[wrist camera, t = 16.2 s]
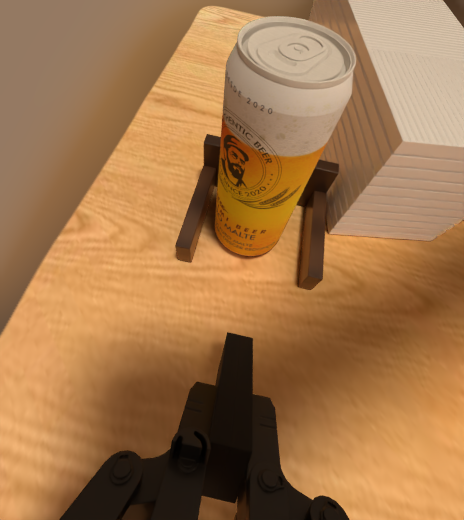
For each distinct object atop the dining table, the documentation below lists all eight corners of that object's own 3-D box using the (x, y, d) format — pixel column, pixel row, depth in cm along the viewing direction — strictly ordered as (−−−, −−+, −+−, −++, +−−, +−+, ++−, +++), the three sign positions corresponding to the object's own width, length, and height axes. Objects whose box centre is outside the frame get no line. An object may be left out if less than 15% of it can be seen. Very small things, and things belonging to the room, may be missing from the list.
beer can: (201, 228, 24) (198, 34, 11) (245, 195, 27) (288, 0, 13) (247, 273, 23) (310, 108, 10) (290, 233, 25) (390, 56, 12)
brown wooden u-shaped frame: (311, 290, 23) (337, 265, 18) (177, 259, 23) (171, 228, 18) (317, 200, 27) (339, 163, 23) (206, 175, 27) (206, 133, 23)
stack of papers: (430, 241, 26) (560, 156, 17) (328, 234, 26) (403, 140, 16) (365, 63, 41) (415, -38, 31) (298, 55, 40) (328, -51, 30)
